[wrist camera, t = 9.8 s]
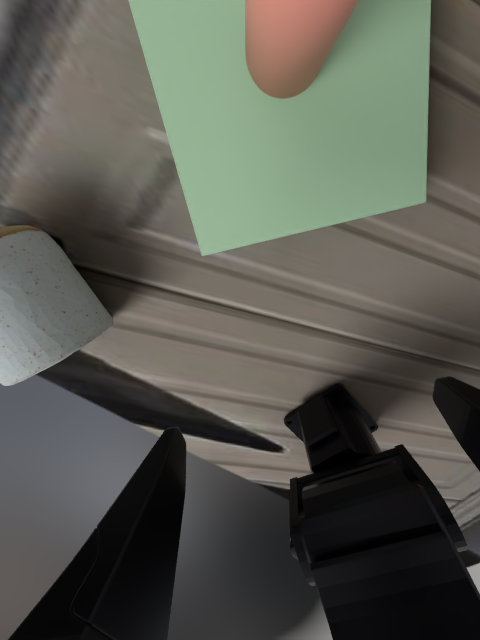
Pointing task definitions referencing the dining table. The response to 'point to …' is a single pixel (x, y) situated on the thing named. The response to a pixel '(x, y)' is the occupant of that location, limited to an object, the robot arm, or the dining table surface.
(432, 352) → the dining table surface
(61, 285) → the ceramic mug
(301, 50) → the salmon pink cylinder
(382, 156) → the pitch
